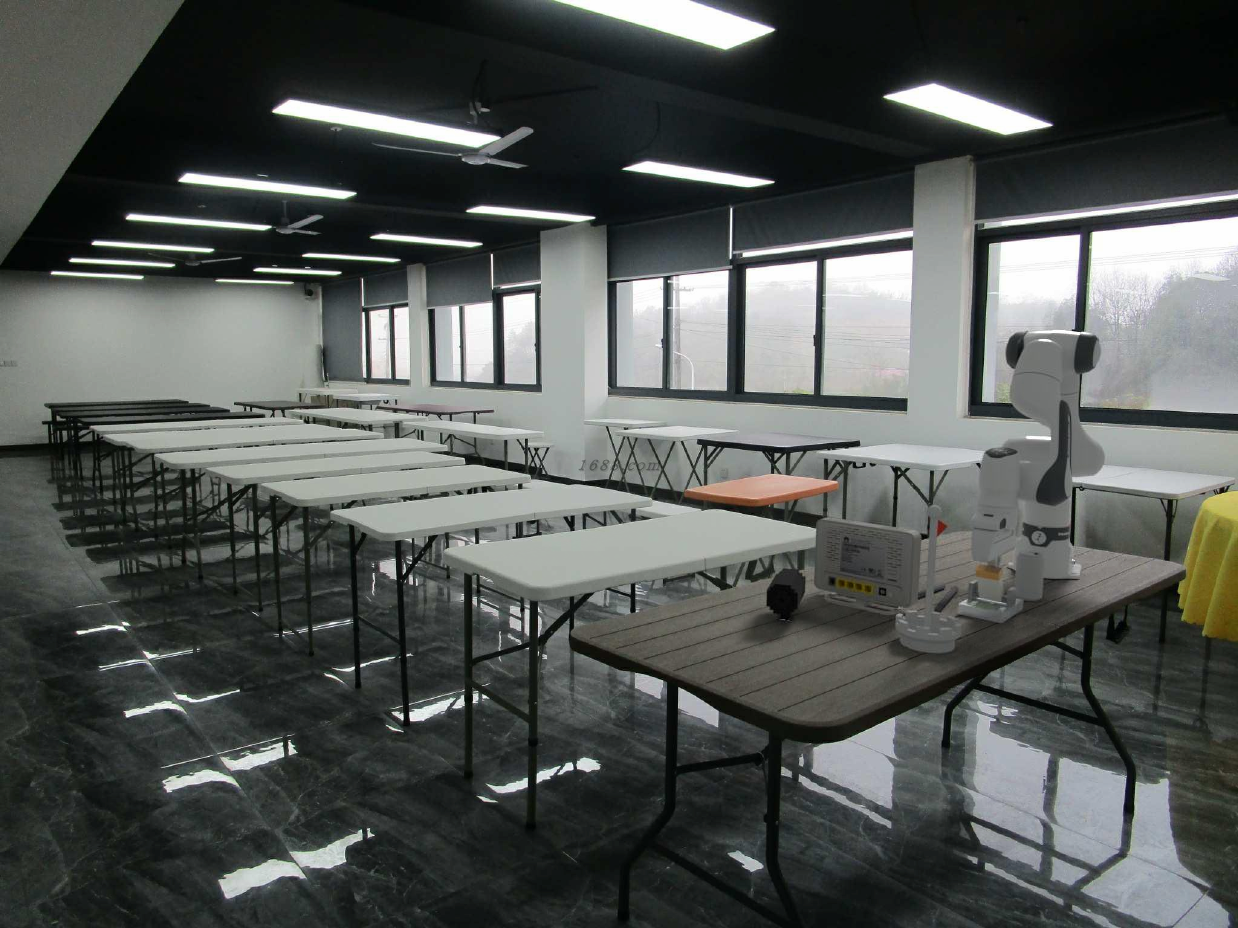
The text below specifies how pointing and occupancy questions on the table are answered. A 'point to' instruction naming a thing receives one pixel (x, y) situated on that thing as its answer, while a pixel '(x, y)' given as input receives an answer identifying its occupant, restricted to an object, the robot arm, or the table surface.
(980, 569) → the breaker lever
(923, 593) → the cord
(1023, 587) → the beverage can
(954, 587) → the dark grey rod
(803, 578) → the security camera
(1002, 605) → the breaker panel
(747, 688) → the table surface
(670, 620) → the table surface
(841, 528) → the network device
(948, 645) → the flag stand
